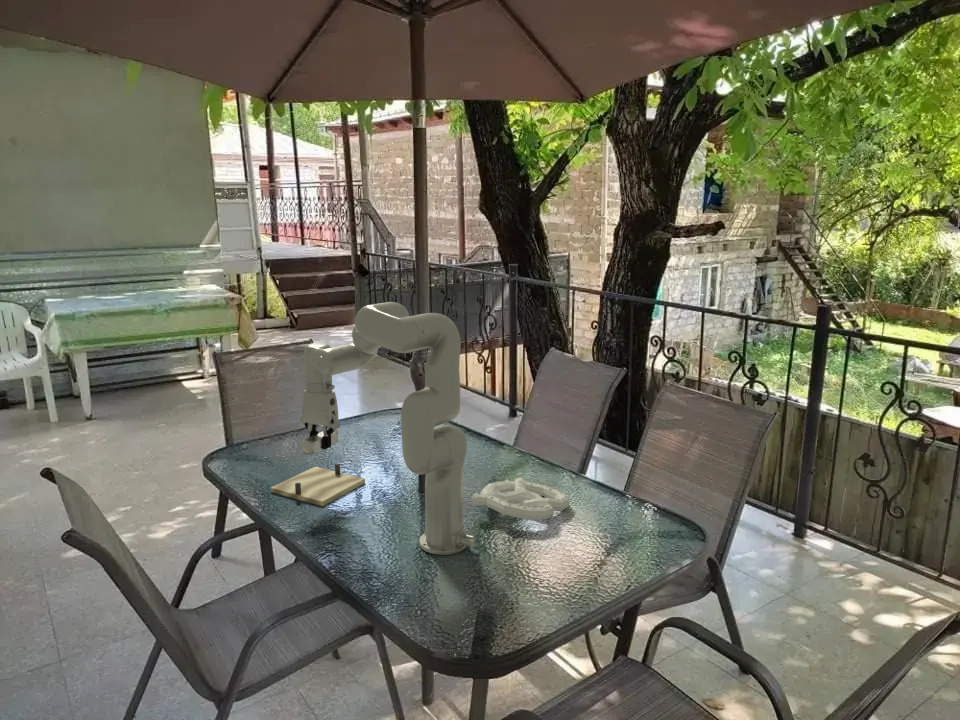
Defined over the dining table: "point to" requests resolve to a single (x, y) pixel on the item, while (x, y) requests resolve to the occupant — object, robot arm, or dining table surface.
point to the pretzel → (522, 499)
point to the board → (318, 485)
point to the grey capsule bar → (317, 443)
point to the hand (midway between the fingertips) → (320, 446)
